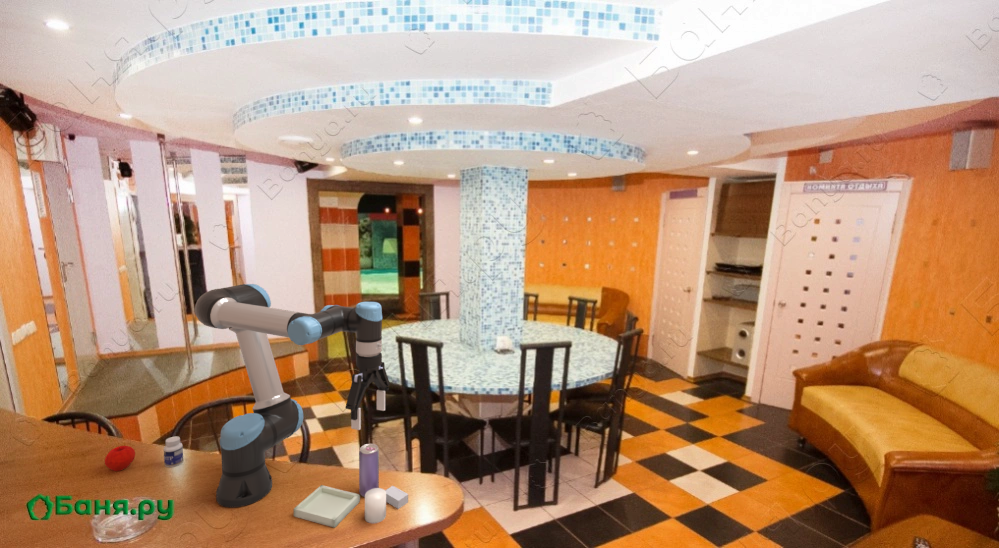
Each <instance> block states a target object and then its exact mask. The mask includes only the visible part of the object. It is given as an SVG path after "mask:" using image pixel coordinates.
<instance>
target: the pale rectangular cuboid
mask: <svg viewBox="0 0 999 548" xmlns="http://www.w3.org/2000/svg"><path fill="white" fill-rule="evenodd" d="M384 490H385V491H386V504H389V505H390V506H393V507H394V508H396V509H397V510H400V509H401V508H402V507H403V506H405V505H406V504H408V503H409V493H407V492H405V491H403V490H401V489H400V488H398V487H396V486H394V485H391V486H390V487H389V488H387V489H384Z"/></svg>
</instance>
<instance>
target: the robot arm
mask: <svg viewBox="0 0 999 548" xmlns="http://www.w3.org/2000/svg"><path fill="white" fill-rule="evenodd" d="M271 306H272V301H271V297H270V296H269V293H268V291H267V290H265V288H263V287H262V286H260V285H258V284H255V283H242V284H239V285H232V286H228V287H227V286H226V287H222V288H221V287H220V288H215V289H211V290H208V291H206V292H205V293H204V292H203V294H201V296H199V297H198V299H197V301H196V303H195V307H194V312H195V313H194V314H195V316H196V318H197V320H198V321H199V322H200V323H201V324H203V325H205V326H206V327H208V328H209V327H210V328H213V329H218V330H226V329H228V330H229V331H231V332H234V333H235V335H236V338H237V341H238V346H239V349H240V352H241V356H242V359H243V362H244V366H245V368H246V372H247V376H248V379H249V383H250V386H251V389H252V393H253V396H254V400H255V403H254V405H253V407H252V412H253V413H252V412H250V413H244V414H243V415H237V416H235V417H233V418H231V419H229V420H228V421H227V422H226V423H224V425H223V426H222V428H221V430H220V439H219V445H220V457H221V476H220V478H219V479H220V480H219V483H218V486H217V489H216V492H215V494H216V497H215V498H216V503H217V504H218V505H219V506H220V507H225V508H240V507H245V506H249V505H252V504H254V503H256V502H258V501H261V500H262V499H263V498H265V497H266V496H268V494H269V493H270V492H271V491H272V488H273V479H272V476H271V475H272V474H271V473H270V471H269V468H268V466H267V464H266V451H268V450H269V449H272V448H273V447H275V446H276V445H278V444H279V443H281V442H282V441H285V440H286V439H288V438H290V437H291V436H293V435H294V433H295V434H296V432H298V431H299V430H300V428H301V426H302V425H303V423H304V422H303V421H304V411H303V408H302V406H301V405H300V403H298V401H297V400H296V399H292V398H291V395H290V394H288V393H286V392H284V389H283V385H282V382H281V377H280V374H279V371H278V368H277V365H276V361H275V357H274V355H273V351H272V347H271V344H270V341H269V337H268V335H272V336H277V337H278V336H279V337H284V338H289V340H290V341H291V342H292V343H294V344H295V345H298V346H305V345H310V344H313V343H315V342H316V341H319V340H322V339H324V338H327V337H330V336H333V335H335V334H337V333H340V332H345V333H354V334H355V338H356V339H355V352H356V355H355V363H356V364H355V366H356V367H357V368H358V369H359V371H358V372H359V373H358V374H355V373H354V374H352V376H351V377H352V378H351V385H350V389H349V392H348V396H347V400H346V404H345V410H350V423H351V429H352V430H357V431H360V430H361V429H362V426H361V425H362V420H361V419H362V418H361V417H362V411H361V409H362V408H361V407H360V405H361V402H362V400H363V398H364V396H365V392H366V390H367V388H369V386H370V384H372V383H374V385H375V386H376V388H378V389H377V390H376V411H382V412H384V411H386V391H389V389H390V386H391V385H390V380H389V377H388V374H387V370H386V369H385V367H386V365H385V362H383V359H382V358H383V356H382V355H383V353H382V351H383V349H382V347H383V344H382V339H383V336H382V331H383V330H382V328H383V327H382V326H383V313H382V312H383V310H382V305H381V303H379V302H377V301H362V302H359V303H357V304H356V306H355V307H351V306H342V305H339V304H334V305H332V304H328V305H325V306H323V308H322V309H320V311H319V312H314V313H306V312H305V313H304V312H298V311H294V310H293V311H292V310H287V309H280V308H274V307H271ZM267 334H268V335H267Z"/></svg>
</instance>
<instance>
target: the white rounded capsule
mask: <svg viewBox="0 0 999 548" xmlns="http://www.w3.org/2000/svg"><path fill="white" fill-rule="evenodd" d="M385 490H386V489H384V488H381V487H379V488H374V489H371V490H369V491H367V492H366V494H365V497H364V520H365V521H366V522H367V523H369V524H378V523H380V522H383V521H384V520H385V518H386V517H387V502H386V491H385Z"/></svg>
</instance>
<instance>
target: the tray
mask: <svg viewBox="0 0 999 548" xmlns="http://www.w3.org/2000/svg"><path fill="white" fill-rule="evenodd" d="M360 502H361V494H360V493H356V492H352V491H351V492H350V491H347V490H342V489H339V488H336V487H335V488H334V487H332V486H326V485H323V484H321V485H320V486H319V487H317V488H316V489H315V490H314V491H312V493H311V492H310V494H309V495H308V496H306V497H305V499H303V500H302V501H301V502H300V503H298V504H297V505H296V506H295V507H294V508H293V517H295V518H299V519H302V520H305V521H310V522H313V523H316V524H320V525H324V526H325V527H326V526H327V527H331V528H334V529H335V528H337V526H338V525H339V524H340V523H341V522H342V521H343V520H344V519H345V518H346V517H347V516H348V515H349V513H351V512H352V511H353V509H354V508H356V507H357V506H358V504H359V503H360Z"/></svg>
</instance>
